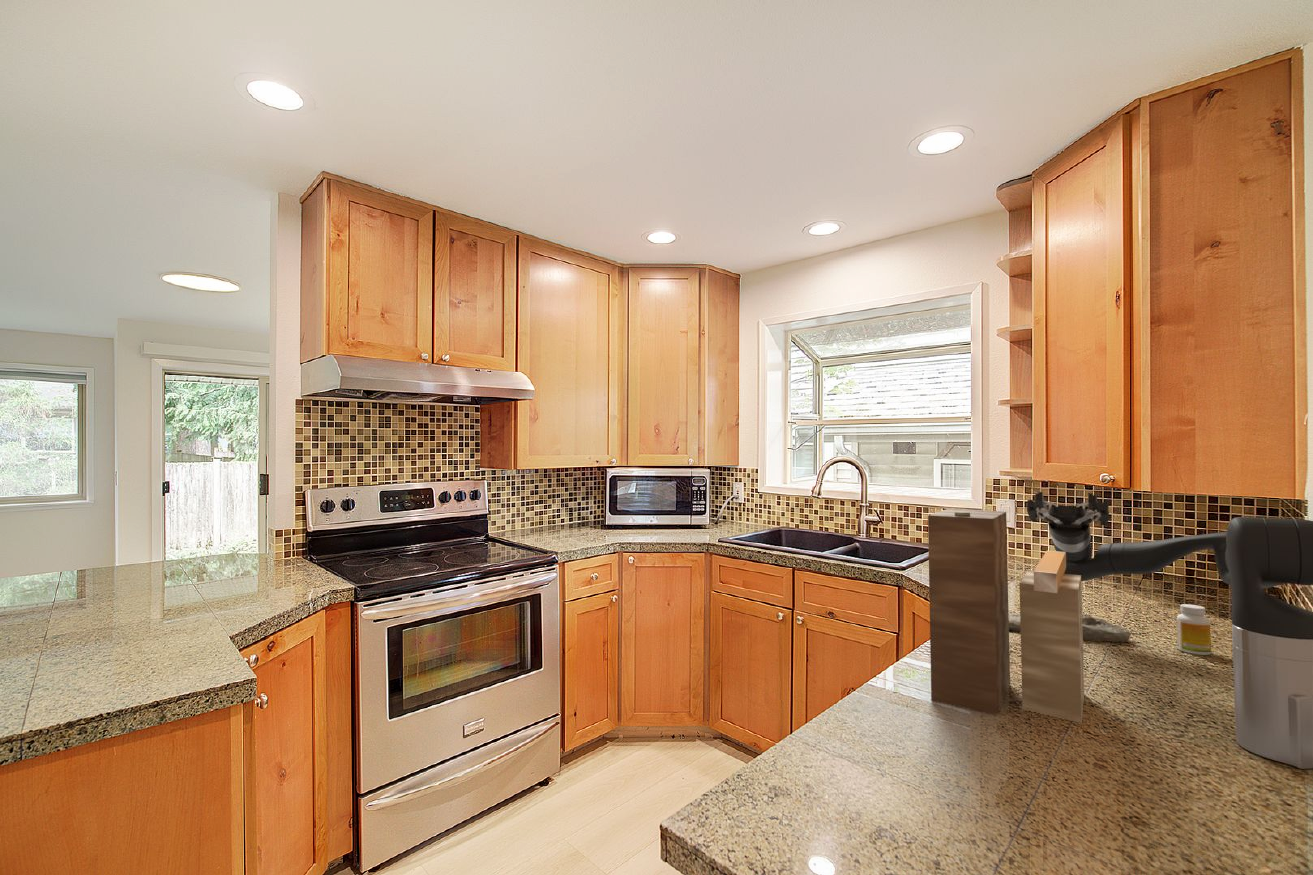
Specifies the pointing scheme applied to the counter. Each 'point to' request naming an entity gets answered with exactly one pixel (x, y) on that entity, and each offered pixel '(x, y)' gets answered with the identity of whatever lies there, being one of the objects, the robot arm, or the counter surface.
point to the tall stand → (969, 609)
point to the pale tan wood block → (1050, 572)
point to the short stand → (1052, 648)
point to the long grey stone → (1087, 629)
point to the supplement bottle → (1193, 630)
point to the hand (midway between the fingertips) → (1064, 496)
